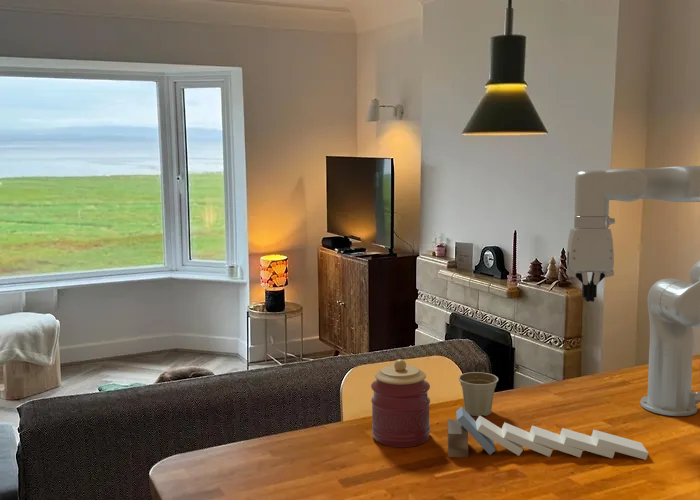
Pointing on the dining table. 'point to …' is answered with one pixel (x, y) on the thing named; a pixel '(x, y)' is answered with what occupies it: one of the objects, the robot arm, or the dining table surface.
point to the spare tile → (475, 430)
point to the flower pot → (478, 392)
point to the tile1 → (619, 444)
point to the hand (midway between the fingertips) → (589, 300)
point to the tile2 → (583, 443)
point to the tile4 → (524, 439)
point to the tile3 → (552, 441)
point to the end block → (457, 439)
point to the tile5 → (497, 435)
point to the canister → (400, 406)
